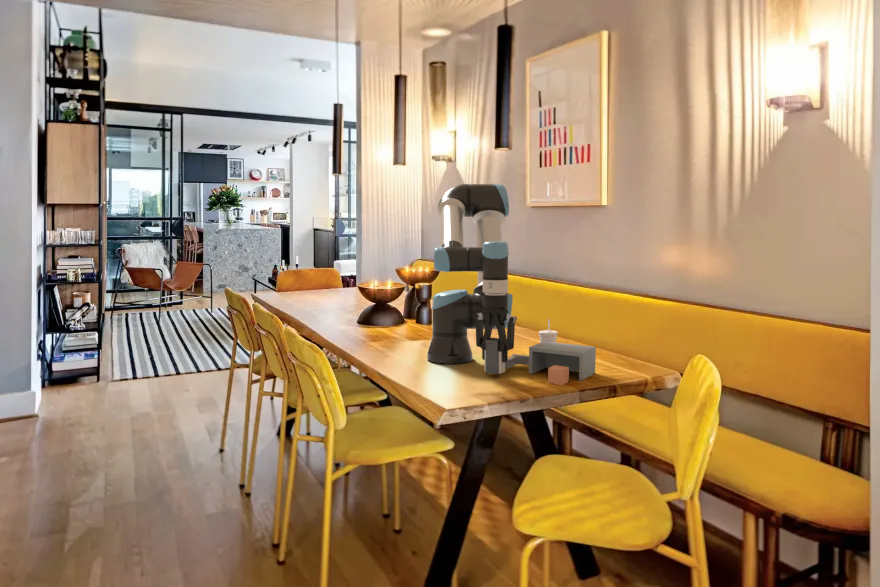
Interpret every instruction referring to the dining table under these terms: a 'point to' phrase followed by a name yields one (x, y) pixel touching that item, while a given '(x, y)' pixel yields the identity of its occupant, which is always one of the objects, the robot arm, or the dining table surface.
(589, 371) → the cubby
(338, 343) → the dining table surface
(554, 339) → the smoothie
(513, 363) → the grey block with rod
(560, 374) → the cube
